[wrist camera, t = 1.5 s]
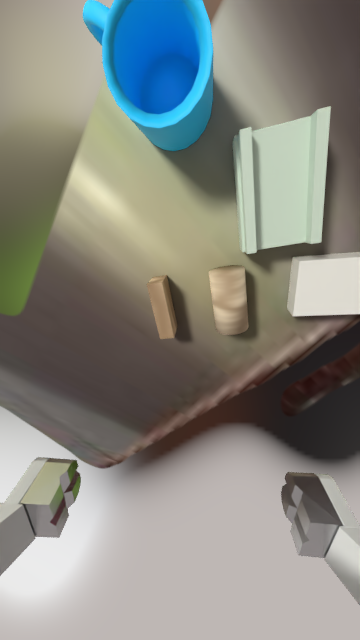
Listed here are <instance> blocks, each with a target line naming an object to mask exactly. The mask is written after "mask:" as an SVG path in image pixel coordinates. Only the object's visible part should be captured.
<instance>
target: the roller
mask: <svg viewBox="0 0 360 640" xmlns="http://www.w3.org/2000/svg"><path fill="white" fill-rule="evenodd" d="M209 279H210V287H211V295H212V302H213V310H214V318H215V325H216V330H217V332H219V333H221V334H225V335H235V334H240V333H242V332H244V331H246V330H247V329H248V327H249V326H248V310H247V295H246V279H245V267H244V266H240V265H230V266H224V267H218V268H215V269H212V270H211V271H209Z"/></svg>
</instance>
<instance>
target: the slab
mask: <svg viewBox="0 0 360 640" xmlns="http://www.w3.org/2000/svg"><path fill="white" fill-rule="evenodd" d="M287 309H288V310H289V312H290V313H291V314H292V316H315V315H346V314H360V252H354V253H340V254H326V255H312V256H298V257H293V258H292V267H291V276H290V285H289V295H288V304H287Z"/></svg>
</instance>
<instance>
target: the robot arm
mask: <svg viewBox="0 0 360 640" xmlns="http://www.w3.org/2000/svg"><path fill="white" fill-rule="evenodd" d="M77 467H78V464H77V460H68V459H54V458H41V457H38V458H36V459H35V460H34V461H33V462H32V463H31V465H30V466H29V468H28V469H27V470H26V472H25V473H24V475H23V476H22V478H21V479H20V481H19V482H18V483H17V485H16V487H15V488H14V489H13V491H12V492H11V494H10V495H9V497H8V498H7V499H6V501H5V502H4V503H0V576H1V574H2V573H3V572H4V571H5V570H6V569H7V568H8V567H9V566H10V565H11V564H12V562H14V561H15V560H16V558H17V557H18V556H19V555H20V554H21V553H22V552H23V551H24V550H25V549H26V548H27V547H28V546H29V545H30V543H31V542H32V541H33V540H34V539H35V537H60V534H61V532H62V530H63V528H64V525H65V523H66V521H67V518H68V516H69V514H68V508H69V507H70V506H71V505H72V504H73V503H74V502H75V500H76V497H77V495H78V492H79V488H80V483H81V477H80V474H79V473H78V472H77V471H76V469H77ZM285 480H286V484H285V485H284V486H283V487H282V491H281V497H282V504H283V509H284V512H285V515H286V517H287V518H288V519H289V520H290V521H291V523H292V528H291V534H292V536H293V540H294V543H295V546H296V548H297V552H298V555H301V556H311V557H320V558H325V561H326V562H327V564H328V565H329V566H330V567H331V569H332V570H333V571H334V573H335V574H336V575H337V577H338V578H339V579H340V580H341V582H342V583H343V584H344V586H345V587H346V588H347V589H348V591H349V592H350V593H351V595H352V596H353V597H354V599H355V600H356V601H357V602H358V604H359V605H360V525H359V523H358V521H357V519H356V518H355V516H354V514H353V512H352V511H351V509H350V507H349V506H348V504H347V502H346V500H345V499H344V497H343V495H342V493H341V491H340V490H339V488H338V486H337V484H336V483H335V481H334V479H333V478H332V477H331V476H330V475H327V474H314V473H294V472H292V473H291V472H288V473H287V474H286V476H285Z"/></svg>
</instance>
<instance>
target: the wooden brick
mask: <svg viewBox="0 0 360 640" xmlns="http://www.w3.org/2000/svg"><path fill="white" fill-rule="evenodd" d="M147 287H148V291H149V295H150V299H151V303H152V308H153V312H154V316H155V320H156V324H157V328H158V332H159V336H160V339H166V338H174V336H175V333H176V330H177V321H176V317H175V312H174V307H173V302H172V297H171V292H170V288H169V283H168V278H167V275H165V276H158V277H153V278H152V279H151V280H150V281H149V283H148V284H147Z"/></svg>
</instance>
